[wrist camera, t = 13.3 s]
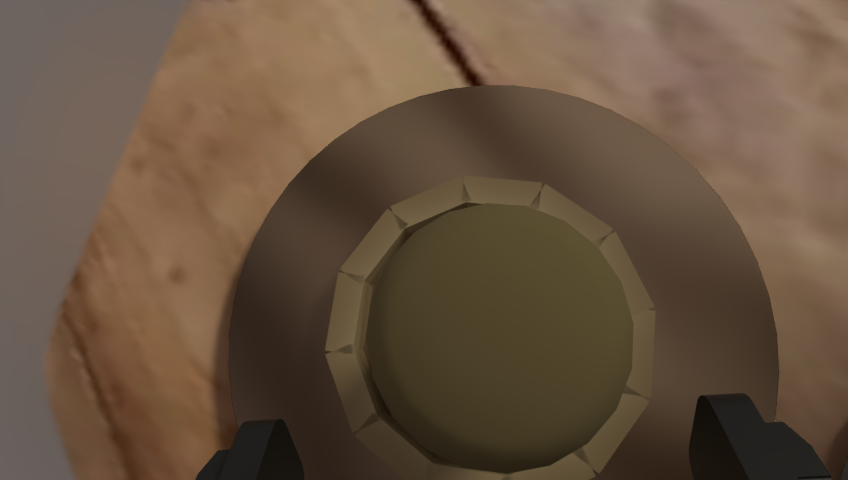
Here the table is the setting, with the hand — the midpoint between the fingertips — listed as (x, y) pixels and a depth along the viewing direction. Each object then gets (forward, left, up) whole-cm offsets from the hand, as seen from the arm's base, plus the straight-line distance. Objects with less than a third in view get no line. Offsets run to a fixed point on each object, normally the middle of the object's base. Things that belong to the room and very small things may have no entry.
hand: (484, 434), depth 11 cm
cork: (-2, -1, -9) cm, 9 cm away
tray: (-2, -2, -10) cm, 11 cm away
